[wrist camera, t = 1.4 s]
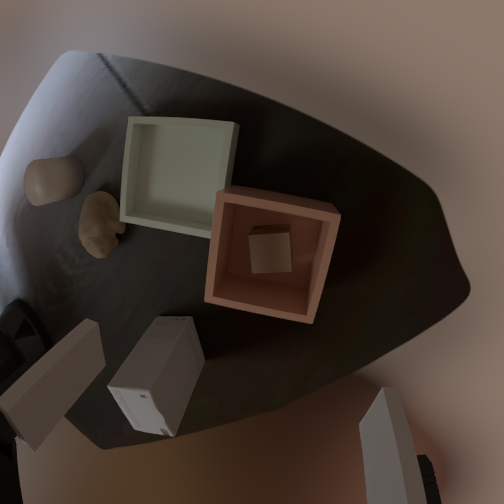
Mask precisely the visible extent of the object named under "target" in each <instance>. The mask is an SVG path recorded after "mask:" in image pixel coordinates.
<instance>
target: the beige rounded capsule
mask: <svg viewBox="0 0 504 504" xmlns="http://www.w3.org/2000/svg"><path fill="white" fill-rule="evenodd" d="M83 183H84V170H83V167H82V164H81V163H80V161H79V160H78V159H77V158H75V157H72V156H71V157H59V158H49V159H40V160H34V161H32V162H31V163H30V164H29V165H28V167H27V169H26V172H25V176H24V189H25V194H26V196H27V199H28V200H29V202H30V203H31V204H32V205H34V206H41V205H45V204H48V203H52V202H56V201H59V200H63V199H67V198H71V197H74V196H76V195H77V194H78V193H79V192H80V191H81V189H82V186H83Z"/></svg>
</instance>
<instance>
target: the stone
mask: <svg viewBox="0 0 504 504" xmlns="http://www.w3.org/2000/svg"><path fill="white" fill-rule="evenodd" d="M125 227H126V223H125V222H122V221H120V207H119V205H118V203H117V201H116V200H115V198H114V197H113V196H112V195H111V194H109V193H107V192H103V191H97V192H94V193H91V194H89V195H88V196H86V198H85V200H84V204H83V206H82V210H81V215H80V219H79V239H80V240H81V243H82V245H83V246H84V247H85V248H86V250H87V252H88V253H90V254H91V255H93V256H94V257H96V258H98V259H102V258H105V257H107V256H108V255H109V254H110V252H111V251H112V250H113V249H114V248H115V247H116V246H117V244H118V242H119V239H118V238H117V237H116V236H115V234H116V233H119V234H123V233H124V231H125Z"/></svg>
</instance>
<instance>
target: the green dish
mask: <svg viewBox="0 0 504 504" xmlns="http://www.w3.org/2000/svg"><path fill="white" fill-rule="evenodd" d="M239 129H240V125H238V124H237V123H235V122H228V121H218V120H207V119H194V118H176V117H129V119H128V126H127V133H126V141H125V150H124V159H123V170H122V183H121V199H120V221H122V222H127V223H132V224H138V225H143V226H148V227H153V228H158V229H164V230H169V231H174V232H179V233H184V234H189V235H194V236H200V237H205V238H210V239H211V232H212V224H213V216H214V208H215V200H216V193H217V191H219V190H222V189H224V188H227V187H229V186H231V181H232V174H233V167H234V161H235V154H236V148H237V141H238V135H239Z"/></svg>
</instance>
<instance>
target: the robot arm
mask: <svg viewBox="0 0 504 504" xmlns="http://www.w3.org/2000/svg"><path fill="white" fill-rule="evenodd" d="M104 367H105V360H104V354H103V349H102V343H101V337H100V331H99V324H98V323H97V322H95V321H92V320H90V319H87V318H86V319H85V320H84V321H82V322H81V323H80V324H79V325H78V326H77V327H75V328H74V329H73V330H72V331H71V332H70V333H68V334H67V335H66V336H65V337H64V338H63V339H62V340H60V341H59V342H58V343H57V344H56V345H55V346H54V347H53V348H52V346H51V342H50V339H49V337H48V334H47V332H46V330H45V328H44V326H43V325H42V323H41V321H40V320H39V319H38V317H37V316H36V314H35V313H34V312H33V311H32V310H31V309H30V308H29V307H28V306H27V305H26V304H25V303H23V302H21V301H19V300H15V301H13V302H11V303H10V304H8V305H7V306H6V307H5V309H4V311H3V312H2V313H1V315H0V504H23V500H22V494H21V488H20V481H19V474H18V463H17V449H16V441H15V439H14V438H15V437H16V436H18V437H19V439H20V440H21V442H22V443H24V444H25V445H26V446H27V447H28V448H30V449H31V450H32V451H34V452H35V451H36V450H37V449H38V447H39V446H40V445H41V443H42V442H43V441H44V440H45V438H46V437H47V436H48V434H49V433H50V432H51V431H52V429H53V428H54V427H55V426H56V424H57V423H58V422H59V421H60V419H61V418H62V417H63V416H64V415H65V413H66V412H67V411H68V410H69V408H70V407H71V406H72V405H73V404H74V402H75V401H76V400H77V399H78V397H79V396H80V395H81V394H82V393H83V391H84V390H85V389H86V388H87V387H88V386H89V384H90V383H91V382H92V381H93V380H94V378H95V377H96V376H97V375H98V374H99V372H100V371H101V370H102V369H103V368H104ZM359 428H360V434H361V443H362V451H363V460H364V469H365V479H366V491H367V504H442V503H441V499H440V494H439V490H438V485H437V484H436V482H437V481H436V477H435V476H434V474H435V473H434V470H433V466H432V463H431V462H430V460H429V459H428V458H427V456H426V455H416V452H415V448H414V444H413V440H412V437H411V433H410V430H409V426H408V423H407V419H406V416H405V412H404V409H403V406H402V403H401V399H400V397H399V393H398V390H397V388H387V387H382V389H381V390H380V392H379V394H378V395H377V397H376V399H375V400H374V402H373V404H372V405H371V407H370V408H369V410H368V412H367V413H366V415H365V416H364V418H363V419H362V421H361V422H360V424H359Z"/></svg>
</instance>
